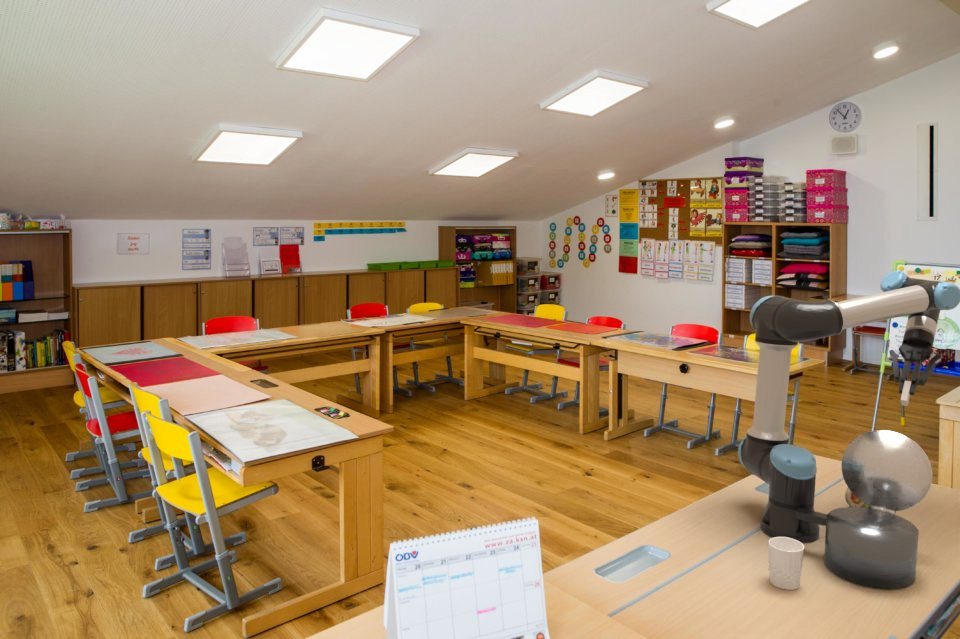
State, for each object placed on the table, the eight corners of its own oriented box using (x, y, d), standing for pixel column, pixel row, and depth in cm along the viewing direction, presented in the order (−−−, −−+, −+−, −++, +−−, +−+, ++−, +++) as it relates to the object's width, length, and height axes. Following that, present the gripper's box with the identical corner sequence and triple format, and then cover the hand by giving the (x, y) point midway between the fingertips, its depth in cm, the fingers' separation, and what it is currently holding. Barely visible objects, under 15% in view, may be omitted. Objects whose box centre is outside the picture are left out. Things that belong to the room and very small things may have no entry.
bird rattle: (862, 520, 211) (881, 503, 214) (853, 489, 207) (873, 473, 210) (843, 512, 216) (863, 496, 219) (834, 482, 213) (854, 466, 216)
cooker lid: (845, 424, 190) (849, 423, 194) (837, 503, 190) (841, 500, 194) (935, 438, 177) (938, 437, 180) (926, 523, 177) (929, 520, 181)
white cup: (786, 594, 166) (788, 554, 165) (759, 579, 173) (761, 541, 172) (809, 586, 170) (811, 546, 169) (781, 572, 177) (783, 534, 176)
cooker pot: (782, 562, 181) (785, 518, 180) (806, 535, 197) (808, 494, 195) (906, 598, 164) (910, 549, 162) (921, 565, 179) (925, 520, 177)
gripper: (946, 345, 205) (932, 414, 195) (895, 340, 213) (879, 406, 203) (945, 329, 200) (930, 399, 190) (892, 325, 209) (876, 392, 198)
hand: (904, 402), depth 197 cm, fingers closed
